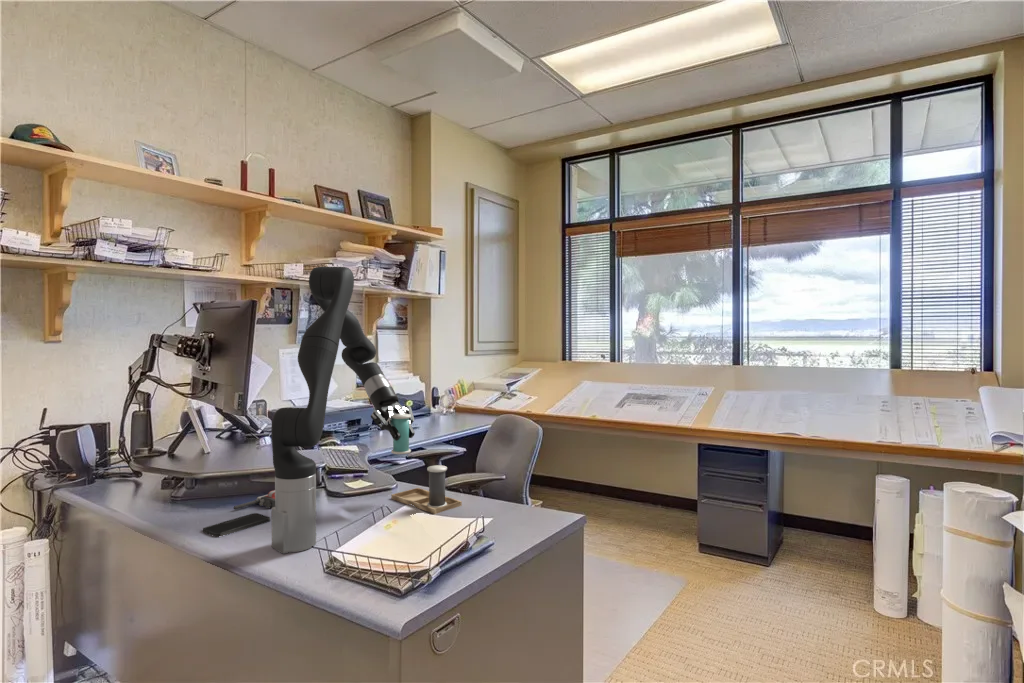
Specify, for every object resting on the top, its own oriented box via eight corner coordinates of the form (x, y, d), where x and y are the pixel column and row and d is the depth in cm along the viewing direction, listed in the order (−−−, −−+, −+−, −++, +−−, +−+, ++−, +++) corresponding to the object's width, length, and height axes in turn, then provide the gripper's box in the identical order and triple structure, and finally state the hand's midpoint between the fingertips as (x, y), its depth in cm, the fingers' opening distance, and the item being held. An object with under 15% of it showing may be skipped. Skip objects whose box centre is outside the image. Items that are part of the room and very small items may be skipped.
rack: (461, 510, 163) (461, 501, 162) (434, 519, 155) (434, 509, 155) (417, 496, 176) (417, 487, 176) (391, 503, 169) (391, 494, 168)
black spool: (435, 510, 158) (436, 471, 158) (423, 505, 162) (423, 467, 162) (450, 505, 162) (451, 467, 162) (438, 501, 166) (438, 464, 166)
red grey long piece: (291, 494, 178) (231, 512, 161) (291, 480, 178) (231, 496, 161) (310, 499, 173) (250, 517, 156) (310, 485, 173) (250, 502, 156)
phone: (271, 518, 153) (217, 534, 141) (272, 522, 153) (217, 539, 141) (255, 512, 157) (200, 528, 145) (255, 516, 157) (200, 532, 145)
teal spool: (399, 455, 163) (399, 417, 163) (387, 452, 167) (387, 415, 166) (414, 452, 167) (414, 415, 167) (402, 449, 171) (402, 412, 171)
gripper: (366, 387, 166) (391, 433, 158) (404, 383, 177) (430, 426, 169) (355, 403, 169) (379, 449, 162) (394, 398, 180) (418, 441, 173)
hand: (405, 437), depth 166 cm, fingers closed on teal spool, 4 cm apart
